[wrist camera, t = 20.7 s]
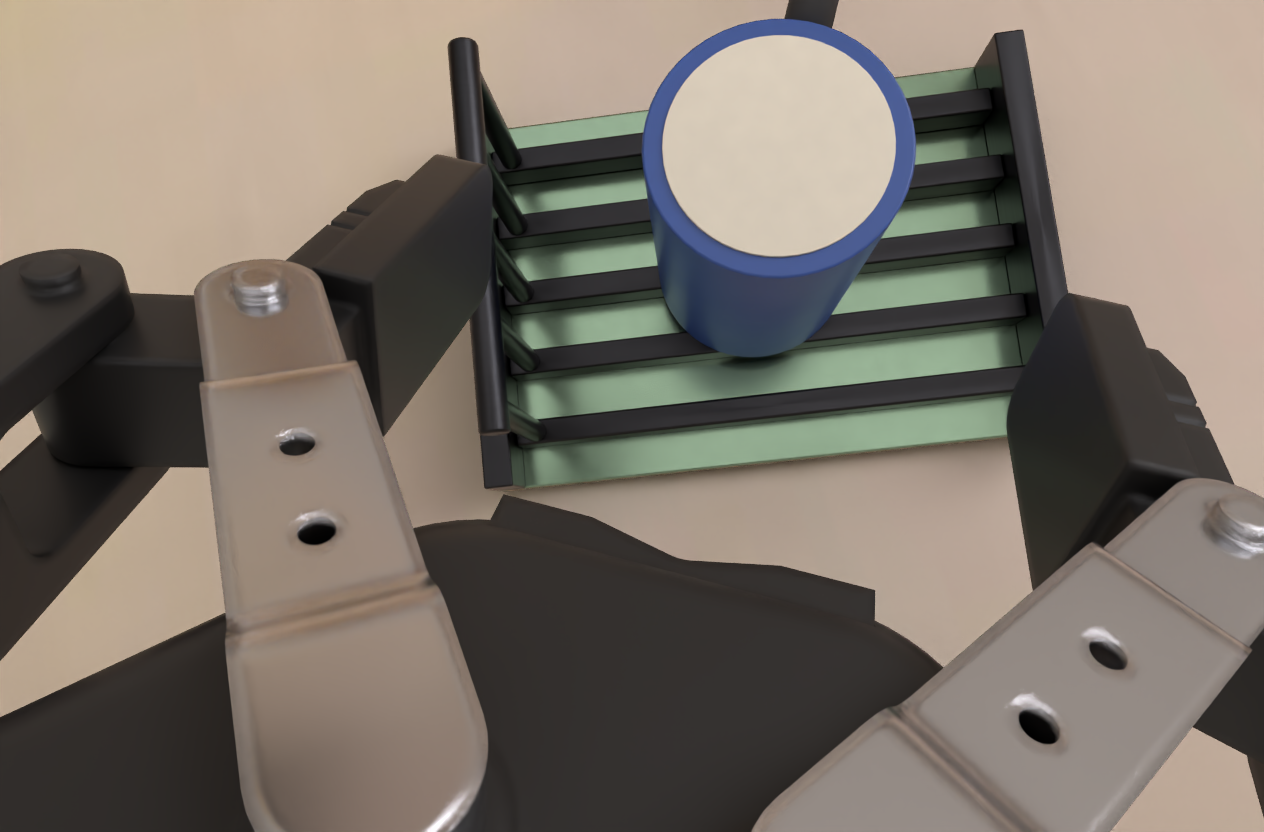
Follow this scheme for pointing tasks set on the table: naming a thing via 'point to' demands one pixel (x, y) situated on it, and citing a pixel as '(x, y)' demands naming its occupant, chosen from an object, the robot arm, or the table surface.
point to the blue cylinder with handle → (772, 177)
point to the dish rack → (769, 385)
